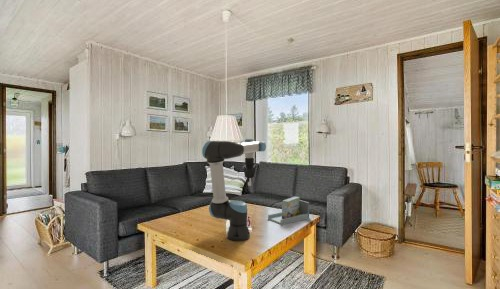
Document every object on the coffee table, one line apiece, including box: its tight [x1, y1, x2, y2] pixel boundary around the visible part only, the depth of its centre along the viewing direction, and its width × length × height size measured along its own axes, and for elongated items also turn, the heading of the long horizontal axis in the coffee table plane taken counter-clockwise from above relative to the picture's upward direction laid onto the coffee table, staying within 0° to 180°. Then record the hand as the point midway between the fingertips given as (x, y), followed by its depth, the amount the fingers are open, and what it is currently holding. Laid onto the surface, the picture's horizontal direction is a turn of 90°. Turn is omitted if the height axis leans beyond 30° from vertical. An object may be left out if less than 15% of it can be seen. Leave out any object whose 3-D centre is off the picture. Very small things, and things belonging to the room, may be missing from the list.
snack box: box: [281, 196, 301, 219], centre depth 212 cm, size 21×6×15 cm, turn 142°
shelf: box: [267, 199, 310, 226], centre depth 210 cm, size 30×17×13 cm, turn 124°
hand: (249, 185), depth 214 cm, fingers closed
